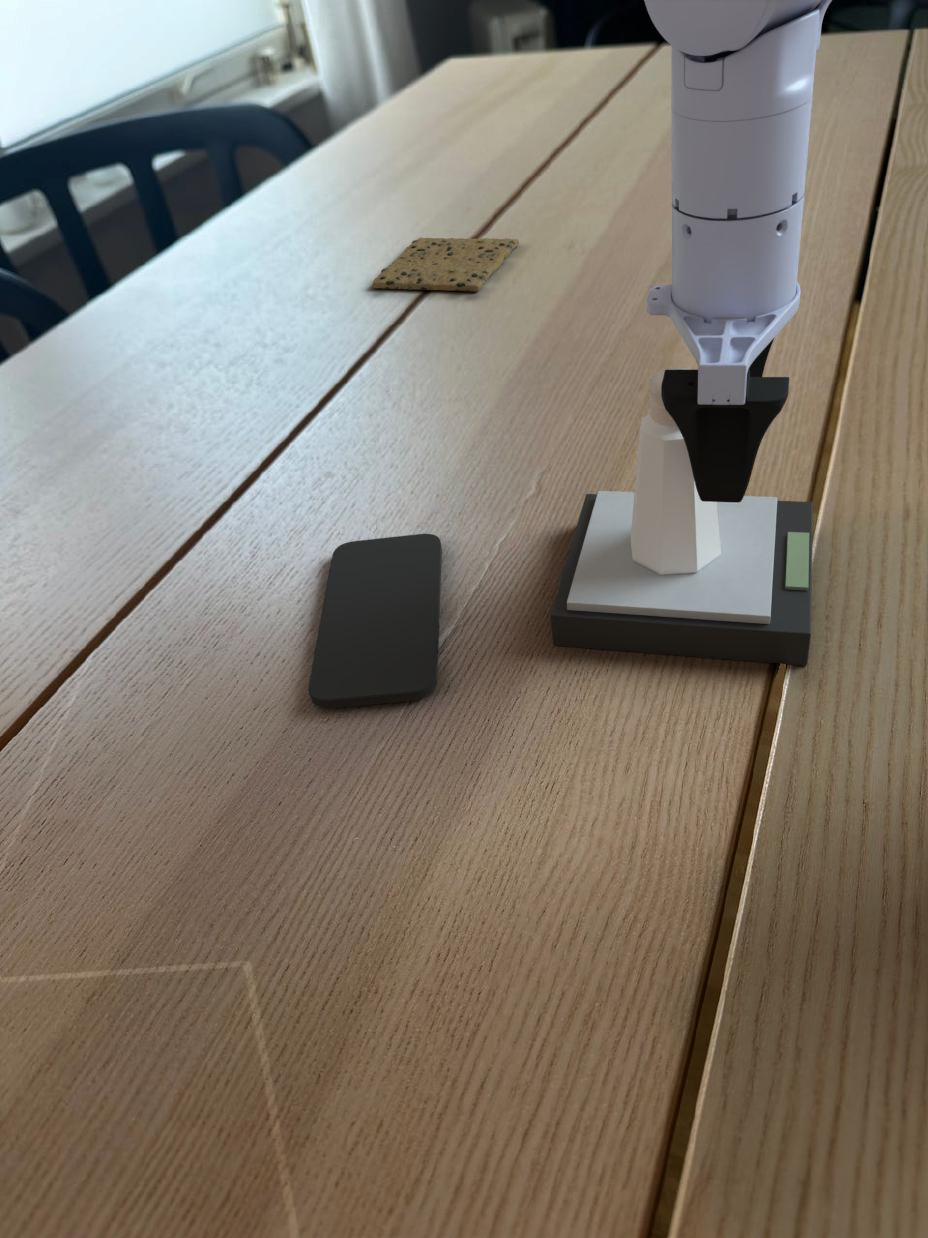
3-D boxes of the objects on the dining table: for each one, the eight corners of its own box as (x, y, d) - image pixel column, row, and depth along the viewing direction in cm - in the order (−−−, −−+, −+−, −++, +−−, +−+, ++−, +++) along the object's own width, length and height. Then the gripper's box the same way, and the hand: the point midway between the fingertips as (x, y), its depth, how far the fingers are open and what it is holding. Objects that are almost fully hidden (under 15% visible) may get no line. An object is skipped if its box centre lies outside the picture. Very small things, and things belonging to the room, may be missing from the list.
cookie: (521, 242, 104) (520, 233, 103) (479, 292, 96) (478, 282, 95) (419, 241, 108) (417, 232, 107) (371, 288, 100) (369, 279, 99)
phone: (442, 531, 66) (435, 690, 54) (443, 540, 66) (437, 700, 55) (333, 542, 66) (304, 702, 55) (336, 552, 67) (308, 712, 55)
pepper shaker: (694, 510, 60) (697, 343, 53) (740, 559, 56) (750, 385, 49) (612, 536, 59) (604, 370, 52) (653, 588, 55) (651, 415, 48)
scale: (809, 532, 61) (814, 493, 60) (807, 666, 53) (812, 625, 51) (587, 522, 65) (585, 485, 63) (553, 645, 57) (549, 607, 55)
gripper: (664, 149, 50) (665, 388, 59) (624, 266, 40) (633, 534, 49) (810, 139, 48) (789, 389, 57) (807, 260, 38) (782, 541, 47)
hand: (726, 456), depth 53 cm, fingers open, 7 cm apart
